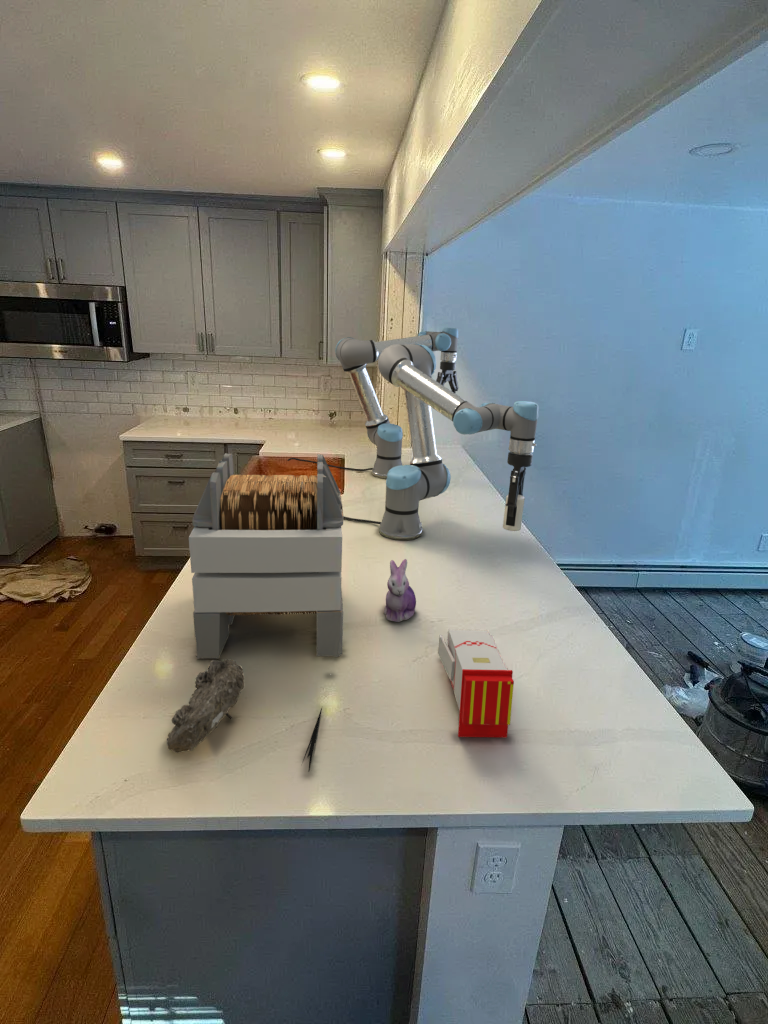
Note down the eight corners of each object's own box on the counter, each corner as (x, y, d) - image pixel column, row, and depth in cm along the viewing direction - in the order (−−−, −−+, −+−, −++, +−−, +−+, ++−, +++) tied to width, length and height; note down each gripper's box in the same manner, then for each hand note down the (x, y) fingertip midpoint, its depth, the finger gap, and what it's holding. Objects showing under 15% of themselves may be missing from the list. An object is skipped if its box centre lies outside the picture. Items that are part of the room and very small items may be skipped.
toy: (488, 613, 130) (523, 677, 101) (484, 667, 133) (517, 744, 104) (435, 612, 130) (455, 676, 101) (432, 666, 133) (451, 743, 103)
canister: (499, 525, 186) (503, 494, 182) (515, 524, 188) (519, 493, 184) (507, 531, 181) (511, 500, 177) (524, 530, 182) (528, 499, 179)
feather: (331, 679, 122) (336, 673, 122) (307, 777, 96) (313, 769, 95) (324, 675, 122) (329, 669, 121) (298, 772, 95) (304, 764, 95)
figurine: (392, 627, 141) (395, 572, 136) (374, 608, 149) (376, 556, 144) (425, 619, 145) (429, 566, 140) (405, 601, 154) (408, 550, 149)
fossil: (192, 660, 117) (244, 628, 112) (224, 691, 120) (276, 661, 115) (142, 746, 98) (202, 712, 93) (182, 779, 101) (242, 748, 96)
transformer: (219, 588, 156) (210, 443, 142) (338, 587, 160) (340, 446, 146) (193, 661, 124) (179, 483, 110) (343, 657, 128) (346, 485, 114)
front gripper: (527, 460, 166) (518, 533, 174) (537, 447, 183) (528, 515, 190) (502, 457, 169) (494, 529, 177) (514, 445, 185) (506, 511, 193)
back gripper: (441, 363, 262) (437, 409, 269) (467, 360, 281) (463, 403, 288) (427, 361, 266) (424, 407, 273) (454, 359, 285) (451, 402, 292)
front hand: (512, 522), depth 184 cm, fingers closed on canister, 6 cm apart
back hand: (444, 405), depth 281 cm, fingers open, 13 cm apart
